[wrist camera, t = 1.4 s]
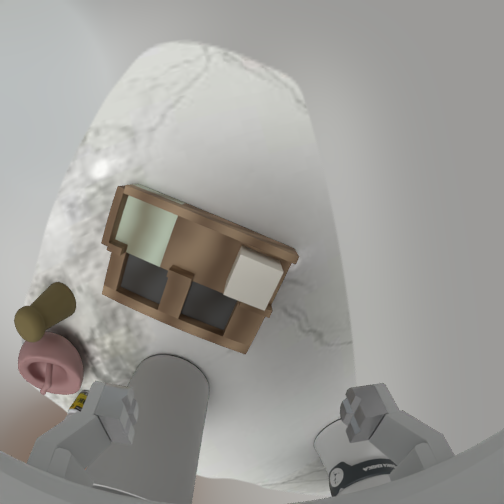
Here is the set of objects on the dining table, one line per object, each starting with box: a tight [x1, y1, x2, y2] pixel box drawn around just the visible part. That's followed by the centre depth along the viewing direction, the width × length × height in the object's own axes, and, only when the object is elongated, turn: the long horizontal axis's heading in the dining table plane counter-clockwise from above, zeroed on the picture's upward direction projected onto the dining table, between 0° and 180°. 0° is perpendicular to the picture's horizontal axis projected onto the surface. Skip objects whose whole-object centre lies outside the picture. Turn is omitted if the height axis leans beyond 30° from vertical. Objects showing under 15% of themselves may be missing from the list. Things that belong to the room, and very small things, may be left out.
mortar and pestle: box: [18, 332, 84, 395], centre depth 37 cm, size 12×12×12 cm
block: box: [223, 245, 283, 311], centre depth 34 cm, size 5×5×4 cm
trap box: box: [101, 184, 299, 354], centre depth 36 cm, size 23×16×4 cm
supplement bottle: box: [65, 391, 89, 419], centre depth 41 cm, size 5×5×8 cm
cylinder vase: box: [86, 355, 209, 504], centre depth 31 cm, size 12×12×25 cm
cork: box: [14, 282, 76, 343], centre depth 34 cm, size 6×6×11 cm
